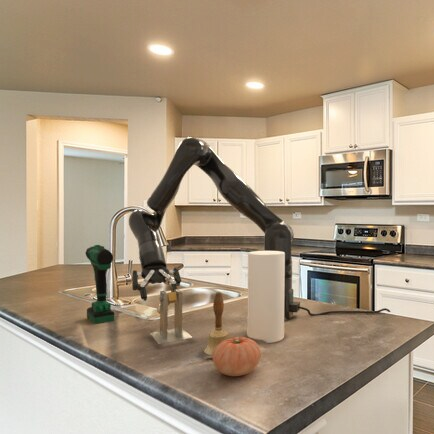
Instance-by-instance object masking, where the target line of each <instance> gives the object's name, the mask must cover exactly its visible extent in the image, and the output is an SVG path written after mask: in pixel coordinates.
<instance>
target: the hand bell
mask: <svg viewBox="0 0 434 434" xmlns="http://www.w3.org/2000/svg"><path fill="white" fill-rule="evenodd" d="M222 295H223V294H222V292H220V291H219V292H216V293H215V295H214V299H213V306H212V307H213V314H214V317H215V322H214V323H215V325H214V330H213V331H212V332H210V333H209V336H208V337H209V338H208V343H207V346H206V348H205V349H204V351H203V352H204V353H205V354H207V355H209V356H211V355H212V357H208V358H207V360H209V361H213V352H214V350H215V348H216V347H217V345H218V344H219V343H221V342H222V341H224V340H227V339H229V336H228V332H227V331H225V330H223V322H222V320H223V313H224V308H225V304H224V303H225V302H224V299H223V296H222Z"/></svg>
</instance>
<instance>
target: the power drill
mask: <svg viewBox="0 0 434 434" xmlns="http://www.w3.org/2000/svg"><path fill="white" fill-rule="evenodd" d="M85 256H86V258H87V259H88V260H89V261H90V265H91V267H93V268H92V270H93V273H94V282H95V292H96V301H92V302H91V307H88V308H86V318H87V320H90V321H91V322H92V323H93V324H94V325H96V324H103V323H109V322H115V312H114V311H113V310H112V309H111V303H110V302H108V301H107V296H108V292H107V290H108V285H107V272H108V270H110V269H111V267H112V263H113V261H114V254H113V253H112V252H111V251H110V250H109V249H107V248H105V246H103V245H100V244H94V245H93V246H90V247H88V248H86V250H85Z"/></svg>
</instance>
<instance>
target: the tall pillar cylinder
mask: <svg viewBox="0 0 434 434" xmlns="http://www.w3.org/2000/svg"><path fill="white" fill-rule="evenodd" d="M284 285H285V253H284V252H281V251H264V250H253V251H248V252H247V322H246V323H247V324H246V325H247V328H246V329H247V333H246V334H247V335H246V336H247V337H248V338H249V339H252V340H262V341H264V342H265V343H267V344H273V343H276V342H280V341H281V340H283V339H284V338H285V320H284Z"/></svg>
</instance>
